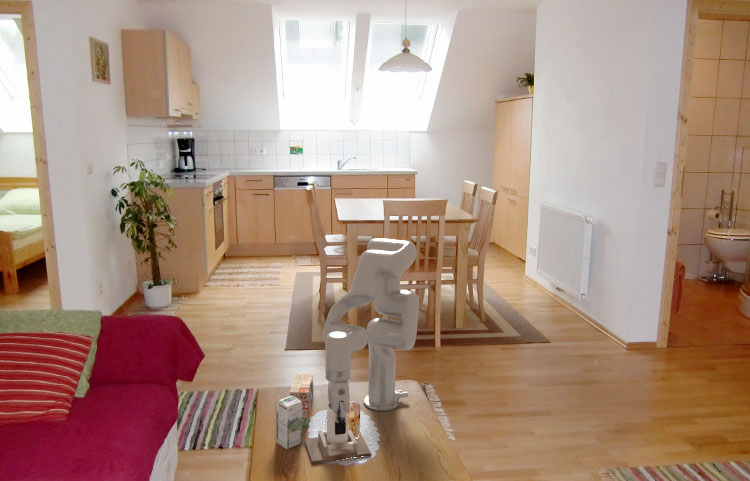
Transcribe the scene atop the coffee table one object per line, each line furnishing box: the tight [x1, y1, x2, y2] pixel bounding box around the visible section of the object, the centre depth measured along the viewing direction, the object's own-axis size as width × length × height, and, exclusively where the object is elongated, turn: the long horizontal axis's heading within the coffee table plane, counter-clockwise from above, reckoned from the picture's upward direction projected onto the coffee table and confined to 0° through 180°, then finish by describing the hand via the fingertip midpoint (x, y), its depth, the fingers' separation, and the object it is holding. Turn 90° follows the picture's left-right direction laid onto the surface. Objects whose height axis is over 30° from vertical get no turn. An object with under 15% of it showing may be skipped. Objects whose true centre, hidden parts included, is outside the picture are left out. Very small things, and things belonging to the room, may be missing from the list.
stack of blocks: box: [289, 373, 314, 427], centre depth 201 cm, size 21×6×12 cm, turn 2°
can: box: [326, 402, 349, 444], centre depth 177 cm, size 6×6×12 cm
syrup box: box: [276, 395, 303, 451], centre depth 180 cm, size 6×6×14 cm
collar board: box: [304, 429, 372, 465], centre depth 178 cm, size 18×13×4 cm
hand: (337, 427), depth 177 cm, fingers closed on can, 6 cm apart
